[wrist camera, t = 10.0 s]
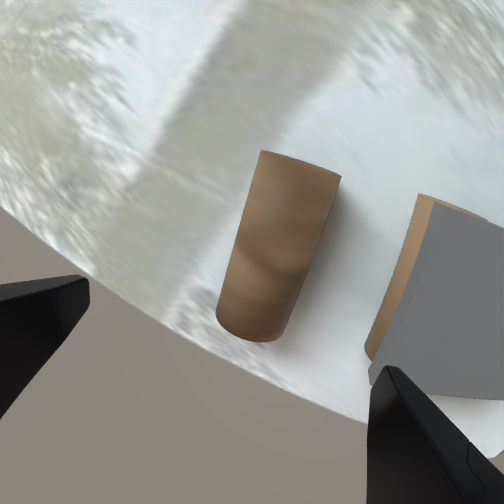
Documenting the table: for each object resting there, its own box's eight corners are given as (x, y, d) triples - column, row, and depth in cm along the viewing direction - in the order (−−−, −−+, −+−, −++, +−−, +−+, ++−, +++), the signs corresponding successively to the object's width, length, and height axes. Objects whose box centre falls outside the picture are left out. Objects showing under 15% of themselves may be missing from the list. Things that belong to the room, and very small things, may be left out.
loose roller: (337, 172, 16) (346, 180, 12) (286, 313, 19) (280, 351, 16) (266, 149, 16) (254, 150, 13) (225, 292, 20) (206, 326, 16)
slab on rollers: (539, 242, 14) (584, 269, 9) (488, 355, 17) (515, 400, 12) (409, 189, 15) (444, 205, 10) (361, 330, 18) (370, 384, 14)
